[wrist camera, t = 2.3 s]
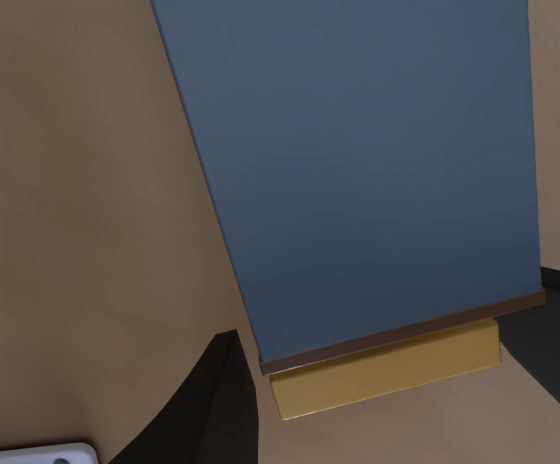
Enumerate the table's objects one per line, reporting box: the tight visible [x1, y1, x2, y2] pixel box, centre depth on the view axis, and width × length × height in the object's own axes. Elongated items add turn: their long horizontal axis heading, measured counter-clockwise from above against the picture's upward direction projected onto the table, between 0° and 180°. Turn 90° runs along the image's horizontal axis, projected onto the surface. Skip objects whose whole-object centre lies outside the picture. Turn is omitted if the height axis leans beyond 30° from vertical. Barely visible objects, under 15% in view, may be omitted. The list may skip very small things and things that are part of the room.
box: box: [150, 0, 546, 420], centre depth 9 cm, size 12×6×6 cm, turn 14°
